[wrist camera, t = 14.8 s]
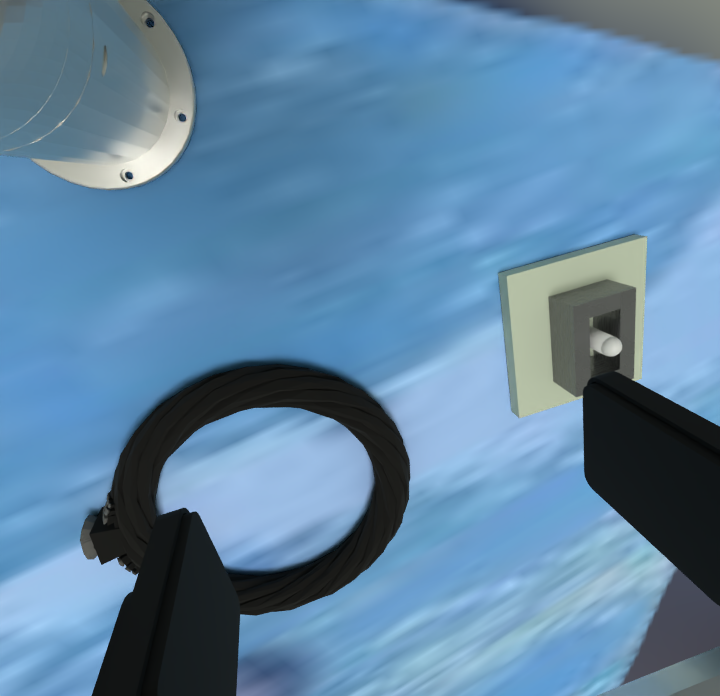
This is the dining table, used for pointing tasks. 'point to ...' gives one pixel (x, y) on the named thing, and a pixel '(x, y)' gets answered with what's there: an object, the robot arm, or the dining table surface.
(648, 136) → the dining table surface
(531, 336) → the keeper board
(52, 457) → the dining table surface
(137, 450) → the cable lock
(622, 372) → the grey rectangular frame
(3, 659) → the dining table surface
